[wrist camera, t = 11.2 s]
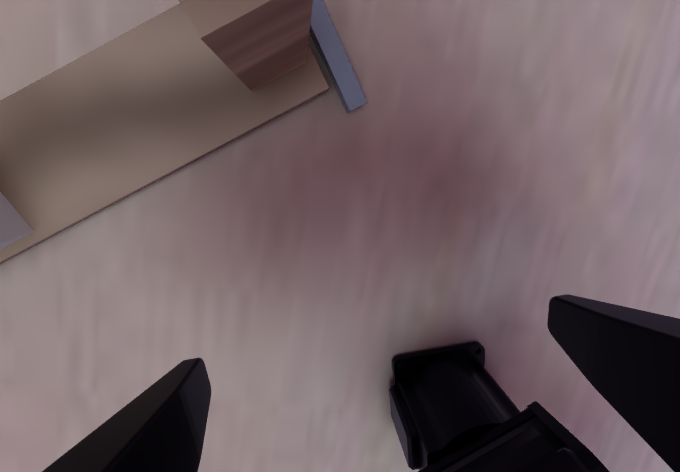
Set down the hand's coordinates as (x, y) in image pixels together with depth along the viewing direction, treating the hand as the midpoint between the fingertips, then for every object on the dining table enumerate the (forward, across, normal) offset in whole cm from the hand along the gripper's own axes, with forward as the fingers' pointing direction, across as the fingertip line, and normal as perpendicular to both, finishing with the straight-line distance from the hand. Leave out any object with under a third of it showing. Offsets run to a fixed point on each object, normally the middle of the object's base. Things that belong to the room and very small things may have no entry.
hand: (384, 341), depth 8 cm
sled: (+12, +11, -6) cm, 17 cm away
